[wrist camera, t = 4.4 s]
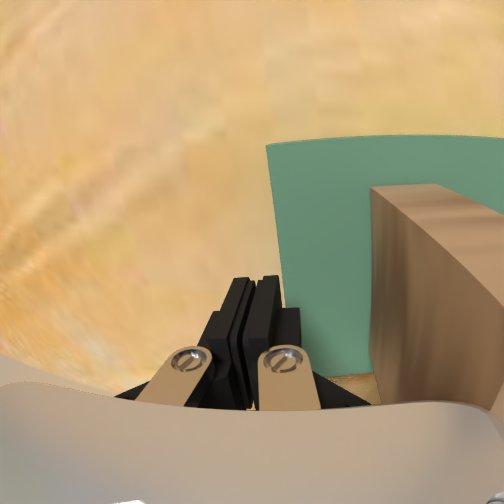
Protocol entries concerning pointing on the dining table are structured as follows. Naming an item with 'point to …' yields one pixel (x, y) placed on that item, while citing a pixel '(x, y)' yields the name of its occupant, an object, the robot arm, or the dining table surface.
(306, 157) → the putting mat
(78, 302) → the dining table surface
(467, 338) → the upright wooden plank
